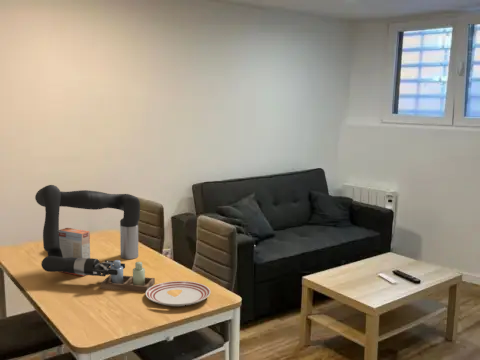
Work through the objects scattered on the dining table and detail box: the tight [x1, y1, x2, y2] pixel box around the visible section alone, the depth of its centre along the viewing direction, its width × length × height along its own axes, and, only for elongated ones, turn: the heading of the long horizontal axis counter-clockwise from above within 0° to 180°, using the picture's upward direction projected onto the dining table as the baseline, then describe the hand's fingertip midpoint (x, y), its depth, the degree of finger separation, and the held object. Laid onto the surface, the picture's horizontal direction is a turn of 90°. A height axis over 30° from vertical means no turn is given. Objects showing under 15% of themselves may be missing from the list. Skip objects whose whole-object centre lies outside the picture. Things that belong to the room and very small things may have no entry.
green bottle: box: [132, 261, 146, 286], centre depth 225 cm, size 5×5×11 cm
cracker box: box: [59, 227, 91, 277], centre depth 241 cm, size 14×6×21 cm, turn 65°
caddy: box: [100, 275, 156, 293], centre depth 226 cm, size 11×21×3 cm, turn 81°
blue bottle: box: [111, 259, 124, 284], centre depth 226 cm, size 5×5×11 cm
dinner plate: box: [145, 280, 212, 307], centre depth 216 cm, size 28×27×3 cm
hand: (121, 269), depth 226 cm, fingers open, 8 cm apart
